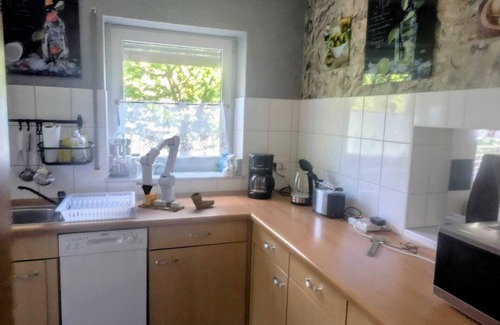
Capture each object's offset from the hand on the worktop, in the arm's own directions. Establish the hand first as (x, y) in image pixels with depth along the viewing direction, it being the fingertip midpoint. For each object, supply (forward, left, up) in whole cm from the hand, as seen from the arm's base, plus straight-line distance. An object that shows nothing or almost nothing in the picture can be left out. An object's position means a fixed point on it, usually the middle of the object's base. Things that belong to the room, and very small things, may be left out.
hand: (147, 197), depth 213 cm
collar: (0, +3, -4) cm, 5 cm away
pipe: (-10, +33, -6) cm, 35 cm away
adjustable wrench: (+20, +131, -6) cm, 133 cm away
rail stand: (0, +10, -5) cm, 11 cm away
